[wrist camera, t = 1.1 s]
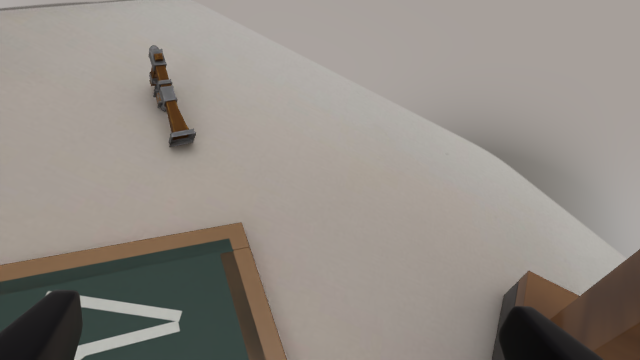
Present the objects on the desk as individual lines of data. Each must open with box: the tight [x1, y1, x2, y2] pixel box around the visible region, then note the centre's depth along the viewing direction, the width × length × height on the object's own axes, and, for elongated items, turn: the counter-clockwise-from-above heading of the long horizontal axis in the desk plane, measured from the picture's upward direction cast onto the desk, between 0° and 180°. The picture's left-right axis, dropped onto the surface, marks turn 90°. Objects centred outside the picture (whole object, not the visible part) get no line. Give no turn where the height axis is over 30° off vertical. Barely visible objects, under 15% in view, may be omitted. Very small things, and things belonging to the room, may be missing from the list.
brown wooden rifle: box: [149, 45, 196, 147], centre depth 35 cm, size 2×8×4 cm, turn 29°
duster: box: [492, 249, 640, 360], centre depth 22 cm, size 11×6×12 cm, turn 154°
